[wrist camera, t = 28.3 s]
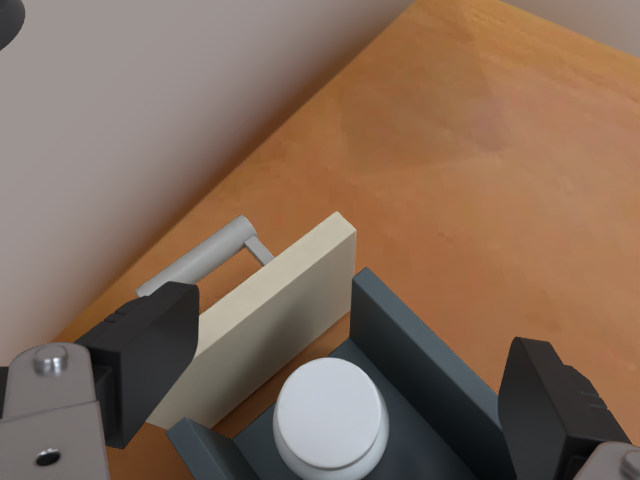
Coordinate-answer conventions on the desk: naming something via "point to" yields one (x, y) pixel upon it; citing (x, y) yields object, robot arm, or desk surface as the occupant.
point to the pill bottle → (330, 421)
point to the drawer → (359, 349)
